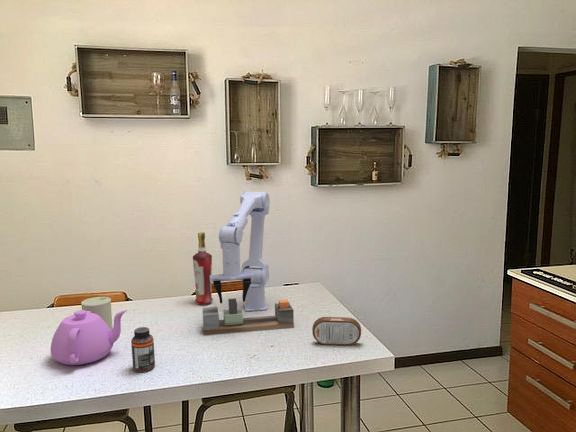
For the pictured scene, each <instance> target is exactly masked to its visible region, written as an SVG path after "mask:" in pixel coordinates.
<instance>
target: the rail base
mask: <svg viewBox="0 0 576 432" xmlns="http://www.w3.org/2000/svg"><path fill="white" fill-rule="evenodd" d="M294 315H295V314H294V308H293V307H292V305H291V303H289V308H286V309H279V302H276V303H274V315H266V316H264V315H263V316H255V317H254V316H252V317H243V324H236V325H225V321H224V319H219V317H220V316H219V310H218V306H206V307H202V326H203V327H202V328H203V329H202V330H203V336H210V335H211V336H212V335H222V334H233V333H246V332H256V331H257V332H259V331H267V330H268V331H269V330H279V329H291V328H292V329H293V328H295V322H294V321H295V320H294Z"/></svg>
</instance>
